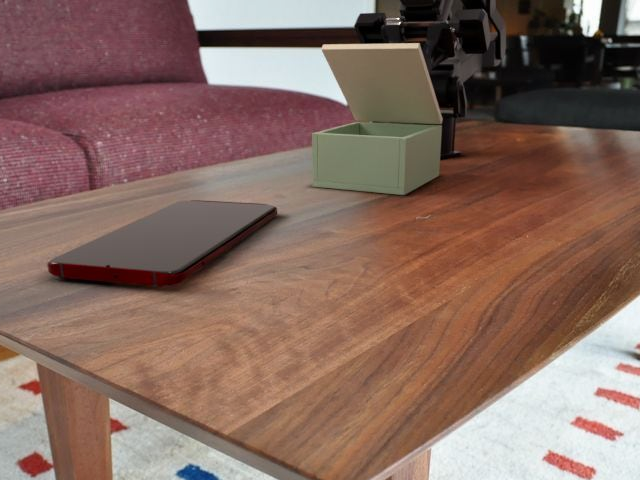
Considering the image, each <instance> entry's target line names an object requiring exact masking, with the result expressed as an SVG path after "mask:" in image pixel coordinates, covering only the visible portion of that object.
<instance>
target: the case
mask: <svg viewBox="0 0 640 480" xmlns="http://www.w3.org/2000/svg"><path fill="white" fill-rule="evenodd" d="M441 133H442V126H441V125H419V124H414V123H397V122H374V121H354V122H351V123H346V124H343V125H339V126H335V127H331V128H327V129H323V130H320V131H316V132H312V133H311V156H312V158H311V159H312V161H311V162H312V166H311V167H312V188H322V189H323V188H324V189H333V190H343V191H344V190H345V191H355V192H365V193H375V194H376V193H377V194H385V195H386V194H388V195H398V196H405V195H407V194H409V193H411V192H413V191H414V190H416V189H418V188H420V187H422V186H423V185H425V184H427V183H429V182H430V181H433V180H435V179H436V178H437V177H439V176H440V166H441V158H440V151H441Z"/></svg>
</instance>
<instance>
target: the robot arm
mask: <svg viewBox="0 0 640 480" xmlns="http://www.w3.org/2000/svg"><path fill="white" fill-rule="evenodd" d="M496 1H497V0H460V2H461V5H462V6H461V8H462V9H456V11H455V13H454V20H455V21H456V22H449V21H451V19H452V17H453V11H452V6H453V4H454V0H399V2H400V3H401V4H400V7H399V9H398V12H399V14H400V17H404V20H403V18H400V17H387V14H386V13H385V12H365V13H362V12H361V13H359V15H358V16H357V17H356V20H355V23H354V25H353V27H354V30H355V32H356V36H357V38H358V40H359V44H396V43H410V42H411V43H424V46H423V48H422V49H421V50H422V53H423V56H424V60H425V63H426V66H427V69H428V73H429V76H430V79H431V82H432V86H433V89H434V92H435V96H436V99H437V102H438V105H439V109H440V112H441V115H442V118H443V121H442V124H423V123H413V124H419V125H441V126H442V133H441V151H440V159H443V158H448V157H455V156H460V155H462V151H459V150H455V144H456V143H455V142H456V141H455V140H456V129H457V128H456V127H457V126H456V125H457V119H460V118H466V117H467V112H468V99H467V95H466V90H465V86H464V83H465V82H466V81H467V80H469V79H470V78H471V77H472V76H473V75H474V74H475V73H477V72H478V70H480V69H487V68H497V67H498V66H499V65H500V64H501V61H502V60H504V59H505V57H506V48H507V47H506V46H507V40H506V39H507V36H506V35H507V34H506V31H507V30H506V23H505V20H504V19H503V18H502V16H501V14H500V13H499V11H498V9H497V6H496V4H497V3H496ZM489 22H490V23H491V25H492V26H493V28H494V30H495V32H491V29H490V23H489ZM448 109H452V110H448Z"/></svg>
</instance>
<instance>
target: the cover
mask: <svg viewBox="0 0 640 480" xmlns="http://www.w3.org/2000/svg"><path fill="white" fill-rule="evenodd" d="M422 50H423V49H422V47H421V42H411V43H410V42H405V43H396V44H361V43H336V44H334V43H331V44H330V43H329V44H328V43H327V44H326V43H325V44H322V46H321V52H322V54H323V56H324V58H325V61H326V62H327V64H328V66H329V68H330V71H331V72H332V75H333V77H334V79H335V81H336V83H337V85H338V87H339V89H340V91H341V93H342V95H343V97H344V99H345V101H346V104H347V105H348V108H349V109H350V110H349V111H350V112H351V114H352V116H353V118H354V120H355V122H375V123H399V124H414V123H423V124H442V121H443V118H442V115H441V112H440V110H441V108H439V105H438V102H437V99H436V96H435V92H434V89H433V86H432V82H431V79H430V76H429V73H428V69H427V66H426V63H425V60H424V56H423V53H422Z"/></svg>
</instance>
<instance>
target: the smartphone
mask: <svg viewBox="0 0 640 480" xmlns="http://www.w3.org/2000/svg"><path fill="white" fill-rule="evenodd" d="M277 216H278V207H276V206H275V205H272V204H267V203H257V202H256V203H255V202H254V203H253V202H239V201H237V202H236V201H219V200H218V201H217V200H200V199H199V200H198V199H197V200H196V199H189V200H179V201H176V202H174V203H172V204H170V205H168V206H166V207H162V208H161V209H158V210H157V211H154V212H152V213H150V214H148V215H146V216H143V217H140V218H139V219H137V220H134V221H132V222H130V223H128V224H126V225H123V226H122V227H119V228H117V229H114V230H113V231H110V232H108V233H106V234H104V235H101V236H99V237H97V238H95V239H93V240H91V241H87V242H86V243H84V244H81V245H79V246H77V247H75V248H73V249H71V250H68V251H66V252H65V253H62V254H60V255H58V256H55V257H54V258H52V259H50V260H49V261H48V262H47V264H46V266H47V271H48V273H49V274H50V275H52V276H55V277H58V278H63V279H73V280H74V279H75V280H83V281H84V280H85V281H93V282H94V281H96V282H107V283H115V284H116V283H117V284H125V285H126V284H127V285H138V286H149V287H165V286H167V287H168V286H174V285H175V286H176V285H178V284H180V283H182V282H183V281H185V280H187V279H188V278H189V277H191V276H192V275H193V274H196V272H198V271H200V270H201V269H202V268H204V267H205V266H206V265H208V264H209V263H211V262H213V261H214V260H215V259H216V258H218V257H219V256H221V255H222V254H224V253H225V252H226V251H228V250H229V249H231V248H232V247H234V246H235V245H236V244H238V243H240V242H241V241H243V240H244V239H246V238H247V237H248V236H249V235H251V234H252V233H253V232H255V231H256V230H258V229H260V228H261V227H263V226H264V225H266V224H267V223H268V222H269V221H271V220H273V219H274V218H275V217H277Z"/></svg>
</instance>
